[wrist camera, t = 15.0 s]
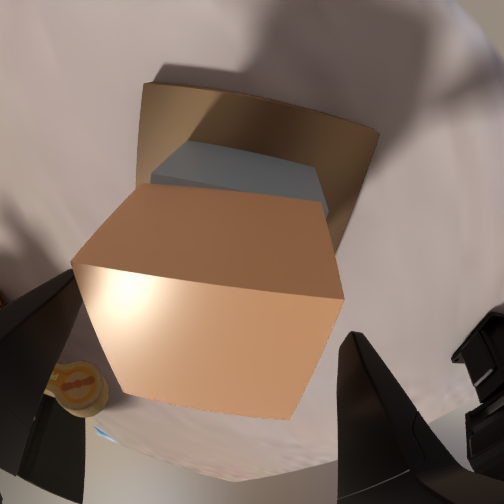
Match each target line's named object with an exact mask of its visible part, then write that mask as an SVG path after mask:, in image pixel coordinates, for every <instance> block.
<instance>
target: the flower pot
mask: <svg viewBox="0 0 504 504" xmlns="http://www.w3.org/2000/svg"><path fill="white" fill-rule="evenodd" d="M17 476H19V477H20V478H22V479H24V480H26V481H27V482H29V483H31V484H33V485H35V486H37V487H39V488H41V489H44V490H46V491H48V492H50V493H52V494H55V495H57V496H60V497H62V498H65V499H67V500H70V501H73V502H75V503H78V504H82V503H83V493H84V492H83V491H84V477H85V418H83V417H77V416H75V415H73V414H71V413H70V412H68V411H67V410H66V409H65V408H63V407H62V406H61V405H60V404H59V403H58V401H57V400H56V398H55V397H52V396H49V395H46V394H43V396H42V399H41V401H40V404H39V407H38V409H37V412H36V415H35V420H34V421H33V423H32V426H31V429H30V432H29V435H28V438H27V442H26V445H25V448H24V451H23V455H22V458H21V461H20V465H19V469H18V472H17Z"/></svg>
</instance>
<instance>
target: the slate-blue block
mask: <svg viewBox="0 0 504 504" xmlns="http://www.w3.org/2000/svg"><path fill="white" fill-rule="evenodd" d="M150 184H164V185H177V186H189V187H200V188H211V189H221V190H230V191H239V192H248V193H257V194H265V195H273V196H281V197H288V198H296V199H303V200H310V201H316V202H321V203H322V207H323V210H324V214H325V218H327V215H328V212H329V211H328V207H327V204H326V201H325V197H324V194H323V191H322V188H321V185H320V182H319V178H318V175H317V172H316V169H315V167H311V166H307V165H304V164H300V163H296V162H292V161H288V160H284V159H279V158H275V157H271V156H267V155H262V154H258V153H253V152H249V151H244V150H239V149H234V148H229V147H224V146H219V145H213V144H208V143H202V142H197V141H191V140H187V141H186V142H185V143H184V144H182V145H181V146H180V147H179V148H178V149H177V150H176V151H175V152H173V153H172V154H171V155H170V156H169V157H168V158H167V159H166V160H165V161H163V162H162V163H161V164H160V165H159V166H158V167H157V168H156V169H155V170H154V171H153V172H152V173H151V180H150Z"/></svg>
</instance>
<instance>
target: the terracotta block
mask: <svg viewBox="0 0 504 504" xmlns="http://www.w3.org/2000/svg"><path fill="white" fill-rule="evenodd" d="M71 265H72V269H73V272H74V275H75V278H76V281H77V284H78V287H79V290H80V293H81V296H82V298H83V301H84V304H85V307H86V309H87V312H88V314H89V317H90V320H91V322H92V325H93V327H94V330H95V332H96V334H97V337H98V339H99V341H100V344H101V346H102V348H103V351H104V353H105V355H106V357H107V359H108V362H109V364H110V366H111V368H112V370H113V372H114V374H115V376H116V378H117V380H118V382H119V384H120V386H121V388H122V390H123V392H124V393H127V394H131V395H135V396H139V397H142V398H146V399H151V400H155V401H159V402H164V403H168V404H173V405H178V406H183V407H188V408H193V409H199V410H205V411H211V412H217V413H224V414H231V415H239V416H248V417H257V418H268V419H282V420H290V418H291V416H292V414H293V412H294V411H295V409H296V407H297V405H298V403H299V401H300V399H301V397H302V395H303V393H304V391H305V389H306V387H307V385H308V383H309V380H310V378H311V376H312V374H313V372H314V370H315V368H316V366H317V363H318V361H319V359H320V357H321V355H322V352H323V350H324V348H325V346H326V343H327V341H328V339H329V336H330V334H331V332H332V329H333V327H334V325H335V322H336V320H337V317H338V315H339V313H340V310H341V308H342V305H343V303H344V300H345V299H344V294H343V290H342V285H341V280H340V276H339V271H338V267H337V263H336V258H335V254H334V250H333V246H332V242H331V238H330V234H329V230H328V226H327V222H326V218H325V214H324V210H323V207H322V203H321V202H316V201H310V200H303V199H296V198H288V197H281V196H273V195H265V194H257V193H248V192H239V191H230V190H221V189H211V188H200V187H189V186H177V185H164V184H150V183H142V184H141V185H140V186H139V187H138V188H137V189H136V190H135V191H134V192H133V193H132V194H131V195H130V196H129V197H128V198H127V199H126V200H125V201H124V202H123V203H122V204H121V205H120V206H119V207H118V208H117V209H116V210H115V211H114V212H113V213H112V214H111V216H110V217H109V218H108V219H107V220H106V221H105V222H104V223H103V224H102V225H101V226H100V228H99V229H98V230H97V231H96V232H95V233H94V234H93V235H92V237H91V238H90V239H89V240H88V241H87V242H86V244H85V245H84V246H83V247H82V248H81V249H80V251H79V252H78V253H77V254H76V255H75V257H74V258H73V259H72V260H71Z"/></svg>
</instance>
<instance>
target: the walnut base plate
mask: <svg viewBox="0 0 504 504" xmlns="http://www.w3.org/2000/svg"><path fill="white" fill-rule="evenodd" d="M379 136H380V133H378V132H377V131H375V130H374V129H371V128H369V127H366V126H363V125H360V124H357V123H354V122H351V121H348V120H345V119H342V118H338V117H335V116H332V115H329V114H325V113H322V112H318V111H315V110H311V109H307V108H304V107H300V106H296V105H292V104H288V103H284V102H280V101H275V100H271V99H266V98H262V97H257V96H252V95H247V94H241V93H236V92H230V91H224V90H218V89H211V88H204V87H197V86H188V85H180V84H170V83H158V82H149V83H144V85H143V93H142V102H141V111H140V122H139V134H138V148H137V167H136V189H137V188H138V187H139V186H140V185H141V184H142V183H150V180H151V173H152V172H153V171H154V170H155V169H156V168H157V167H158V166H159V165H160V164H161V163H162V162H163V161H165V160H166V159H167V158H168V157H169V156H170V155H171V154H172V153H173V152H175V151H176V150H177V149H178V148H179V147H180V146H181V145H182V144H184V143H185V142H186V141H187V140H191V141H197V142H202V143H208V144H213V145H219V146H224V147H229V148H234V149H239V150H244V151H249V152H253V153H258V154H262V155H267V156H271V157H275V158H279V159H284V160H288V161H292V162H296V163H300V164H304V165H307V166H311V167H315V169H316V172H317V175H318V178H319V182H320V185H321V188H322V191H323V194H324V197H325V201H326V204H327V207H328V211H329V212H328V215H327V218H326V222H327V226H328V230H329V234H330V238H331V242H332V246H333V250H334V253H335V251H336V249H337V246H338V244H339V241H340V239H341V237H342V234H343V232H344V229H345V227H346V225H347V222H348V220H349V217H350V215H351V212H352V210H353V207H354V204H355V202H356V199H357V197H358V194H359V192H360V189H361V186H362V184H363V181H364V178H365V176H366V173H367V170H368V167H369V165H370V162H371V159H372V156H373V153H374V150H375V147H376V145H377V142H378V139H379Z"/></svg>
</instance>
